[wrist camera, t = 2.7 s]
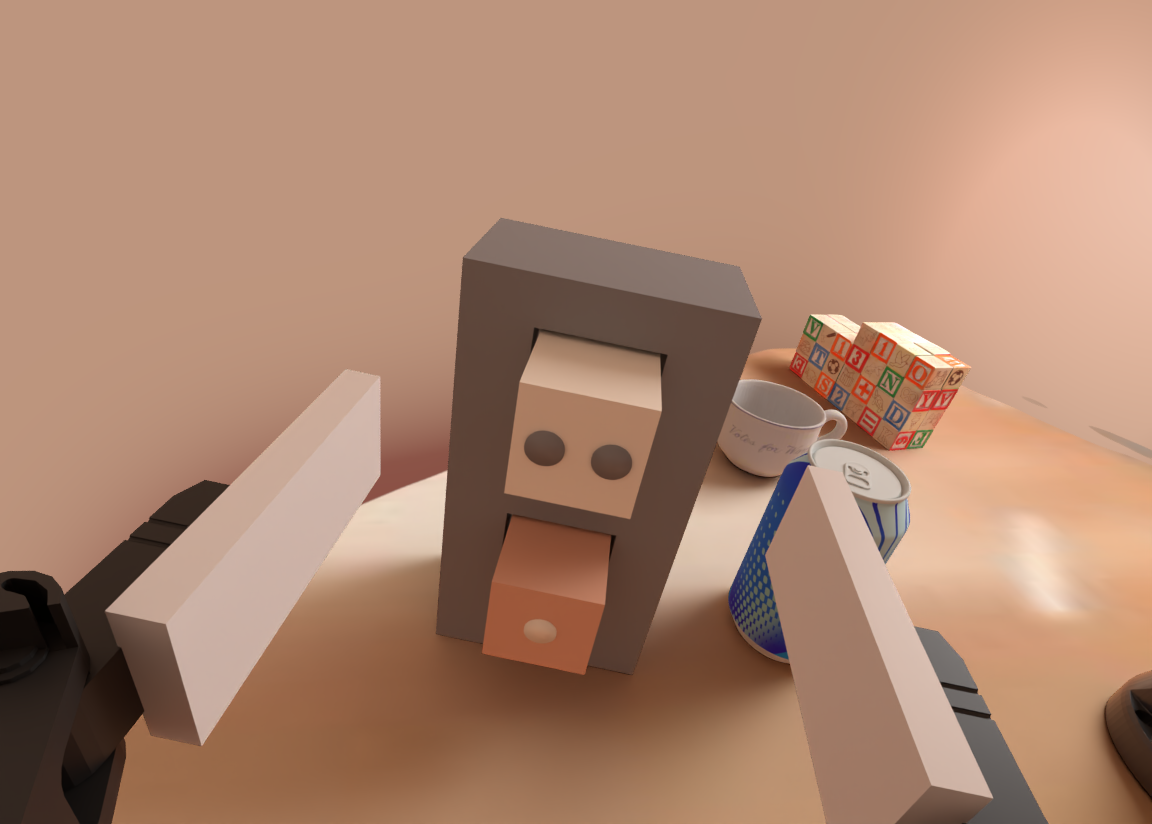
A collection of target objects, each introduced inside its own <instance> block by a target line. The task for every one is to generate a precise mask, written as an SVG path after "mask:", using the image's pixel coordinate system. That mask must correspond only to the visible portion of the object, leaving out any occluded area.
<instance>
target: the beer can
mask: <svg viewBox="0 0 1152 824" xmlns="http://www.w3.org/2000/svg"><path fill="white" fill-rule="evenodd" d="M808 465H810V466H815V467H819V468H824V469H829V470H834V471H839V472H843V474H844V477H845V479H846V481H847V483H848V485H849V487H850V490H851V492H852V494H853V496H854V498H855V500H856V503H857V505H858V507H859V509H860V511H861V513H862V515H863V518H864V520H865V522H866V524H867V526H868V528H869V531H870V533H871V535H872V537H873V539H874V541H875V544H876V546H877V548H878V550H879V552H880V554H881V556H882V559H883V561H884V563H885V564H886V563H887V561H888V560H889V558H890V556H891V555H892V553H893V552H894V550H895V548H896V547H897V545H898V544H899V542H900V540H901V539H902V537H903V536H904V534H905V533H906V531H907V529H908V527H909V523H910V513H909V507H908V500H907V498H908V496H909V495H910V492H911V485H910V482H909V480H908V478H907V476H906V475H905V474H904V472H903V471H902V470H901V469H900V468H899V467H898V466H897V465H895V464H894V463H893V462H892V461H890V460H889V459H887V458H886V457H884V456H883V455H881V454H879V453H877V452H875V451H873V450H871V449H869V448H867V447H864V446H862V445H859V444H856V443H853V442H849V441H844V440H838V439H824V440H819V441H816V442H815V443H813V444H812V445H811V446H810V447H809V450H808V452H806V453H804V454H802V455H801V456H799V457H797V458H795V459H793V460H792V461H791V462H789V463H788V464H787V466H786V467H785V468H784V470H783V472H782V475H781V477H780V479H779V481H778V483H777V486H776V488H775V490H774V492H773V495H772V497H771V499H770V501H769V504H768V506H767V508H766V510H765V512H764V515H763V517H762V519H761V521H760V524H759V526H758V528H757V530H756V532H755V535H754V537H753V539H752V541H751V544H750V546H749V548H748V550H747V552H746V555H745V557H744V559H743V561H742V564H741V566H740V568H739V570H738V573H737V575H736V577H735V579H734V581H733V584H732V586H731V588H730V591H729V596H728V603H729V608H730V612H731V614H732V617H733V619H734V622H735V625H736V627H737V629H738V631H739V632H740V634H741V635H742V637H743V638H744V639H745V640H746V641H747V642H748V643H749V644H750V645H751V646H752V647H753V648H754V649H755V650H757V651H758V652H760V653H761V654H763V655H765V656H766V657H769V658H771V659H773V660H776V661H779V662H783V663H790V662H789V657H788V653H787V649H786V644H785V640H784V635H783V631H782V627H781V622H780V618H779V614H778V609H777V605H776V600H775V596H774V592H773V587H772V583H771V579H770V574H769V570H768V565H767V561H766V557H765V554H766V552H767V550H768V548H769V546H770V544H771V542H772V540H773V538H774V536H775V533H776V531H777V529H778V527H779V525H780V523H781V521H782V519H783V517H784V514H785V512H786V510H787V508H788V506H789V504H790V502H791V500H792V498H793V496H794V493H795V491H796V489H797V487H798V485H799V483H800V481H801V479H802V477H803V474H804V472H805V470H806V468H807V466H808Z"/></svg>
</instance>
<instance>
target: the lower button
mask: <svg viewBox="0 0 1152 824" xmlns="http://www.w3.org/2000/svg"><path fill="white" fill-rule="evenodd" d="M610 541H611V534H606V533H601V532H597V531H592V530H587V529H582V528H577V527H572V526H568V525H563V524H558V523H553V522H548V521H544V520H539V519H534V518H529V517H524V516H519V515H515V514H512V517H511V521H510V524H509V527H508V530H507V534H506V537H505V540H504V543H503V547H502V550H501V553H500V556H499V560H498V563H497V566H496V569H495V573H494V576H493V579H492V584H491V591H490V598H489V605H488V613H487V620H486V627H485V634H484V641H483V649H482V654H487V655H491V656H496V657H501V658H506V659H511V660H515V661H520V662H525V663H530V664H534V665H539V666H544V667H549V668H554V669H558V670H563V671H568V672H573V673H578V674H582V675H585V671H586V668H587V665H588V661H589V658H590V654H591V651H592V648H593V644H594V641H595V637H596V634H597V631H598V627H599V624H600V620H601V617H602V613H603V610H604V607H605V599H606V587H607V576H608V564H609V552H610Z"/></svg>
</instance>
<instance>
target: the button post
mask: <svg viewBox="0 0 1152 824" xmlns="http://www.w3.org/2000/svg"><path fill="white" fill-rule="evenodd" d="M761 319H762V318H761V316H760V314H759V311H758V309H757V307H756V304H755V302H754V299H753V297H752V295H751V292H750V290H749V288H748V285H747V283H746V281H745V278H744V276H743V274H742V272H741V269H740V267H738V266H734V265H728V264H724V263H718V262H714V261H709V260H704V259H699V258H694V257H690V256H685V255H680V254H675V253H670V252H665V251H660V250H655V249H650V248H646V247H641V246H635V245H631V244H626V243H621V242H616V241H611V240H606V239H601V238H596V237H592V236H587V235H582V234H577V233H572V232H567V231H562V230H557V229H552V228H548V227H543V226H538V225H533V224H528V223H523V222H519V221H513V220H509V219H504V218H501V219H499V221H498V222H497V223H496V224H495V225H494V226H493V227H492V228H491V229H490V230H489V231H488V232H487V233H486V234H485V235H484V236H483V237H482V238H481V239H480V240H479V241H478V242H477V243H476V245H475V246H474V247H473V248H472V249H471V250H470V251H469V252H468V253H467V254H466V255H465V256H464V257H463V266H462V279H461V293H460V307H459V320H458V334H457V348H456V349H457V350H456V363H455V377H454V390H453V404H452V418H451V431H450V432H451V433H450V445H449V461H448V473H447V487H446V501H445V515H444V529H443V543H442V557H441V570H440V584H439V598H438V612H437V626H436V634H439V635H444V636H448V637H453V638H458V639H463V640H468V641H472V642H477V643H482V644H483V641H484V634H485V627H486V620H487V613H488V605H489V598H490V591H491V584H492V579H493V576H494V573H495V569H496V566H497V563H498V560H499V556H500V553H501V550H502V547H503V543H504V540H505V537H506V534H507V530H508V527H509V524H510V521H511V517H512V514H515V515H519V516H524V517H529V518H534V519H539V520H544V521H548V522H553V523H558V524H563V525H568V526H572V527H577V528H582V529H587V530H592V531H597V532H601V533H606V534H611V541H610V552H609V564H608V576H607V587H606V599H605V607H604V610H603V613H602V617H601V620H600V624H599V627H598V631H597V634H596V637H595V641H594V644H593V648H592V651H591V654H590V658H589V661H588V665H587V666H592V667H597V668H602V669H607V670H611V671H616V672H621V673H626V674H631V675H633V672H634V669H635V666H636V664H637V661H638V658H639V655H640V653H641V650H642V647H643V644H644V642H645V639H646V636H647V633H648V631H649V628H650V625H651V622H652V620H653V617H654V614H655V611H656V609H657V606H658V603H659V600H660V598H661V595H662V592H663V589H664V587H665V584H666V581H667V578H668V576H669V573H670V570H671V567H672V565H673V562H674V559H675V556H676V554H677V551H678V548H679V545H680V543H681V540H682V537H683V534H684V531H685V529H686V526H687V523H688V520H689V518H690V515H691V512H692V509H693V507H694V504H695V501H696V498H697V496H698V493H699V490H700V487H701V485H702V482H703V479H704V476H705V474H706V471H707V468H708V465H709V463H710V460H711V457H712V454H713V452H714V449H715V446H716V443H717V441H718V438H719V435H720V432H721V430H722V427H723V424H724V421H725V419H726V416H727V413H728V410H729V408H730V405H731V402H732V399H733V397H734V394H735V391H736V388H737V386H738V383H739V380H740V377H741V375H742V372H743V369H744V366H745V364H746V361H747V358H748V355H749V353H750V350H751V347H752V344H753V341H754V338H755V336H756V333H757V331H758V328H759V325H760V322H761ZM541 329H545V330H550V331H555V332H560V333H564V334H569V335H574V336H579V337H584V338H589V339H594V340H599V341H603V342H608V343H613V344H618V345H623V346H628V347H633V348H637V349H642V350H647V351H652V352H657V353H660V367H661V401H662V412H661V416H660V419H659V423H658V426H657V429H656V433H655V436H654V440H653V443H652V446H651V450H650V453H649V457H648V460H647V463H646V467H645V470H644V474H643V477H642V480H641V484H640V487H639V491H638V494H637V498H636V501H635V504H634V508H633V511H632V515H631V518H630V519H627V518H622V517H617V516H612V515H608V514H603V513H598V512H593V511H588V510H583V509H579V508H574V507H569V506H564V505H559V504H554V503H550V502H545V501H540V500H535V499H530V498H526V497H521V496H516V495H511V494H506V493H504V490H505V483H506V476H507V469H508V461H509V454H510V447H511V440H512V433H513V425H514V418H515V411H516V404H517V397H518V389H519V382H520V380H521V377H522V375H523V372H524V370H525V367H526V365H527V363H528V360H529V358H530V355H531V353H532V350H533V348H534V346H535V343H536V341H537V338H538V336H539V333H540V331H541Z"/></svg>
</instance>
